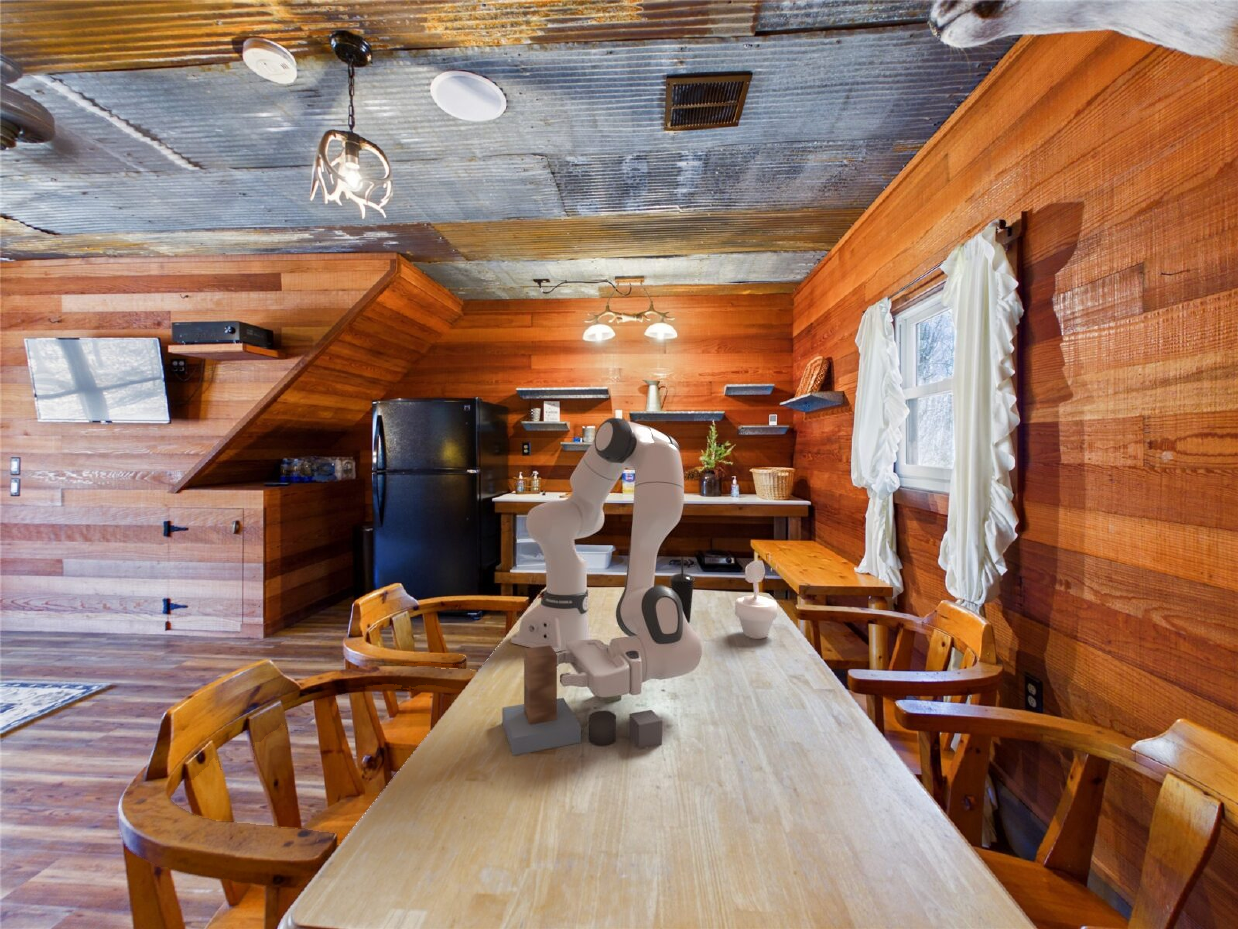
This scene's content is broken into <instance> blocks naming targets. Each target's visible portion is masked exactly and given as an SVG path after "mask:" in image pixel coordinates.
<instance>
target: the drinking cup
mask: <svg viewBox="0 0 1238 929" xmlns="http://www.w3.org/2000/svg"><path fill="white" fill-rule="evenodd" d="M680 558H681V561H680V563H681V564H680V570H681V571H680V572H678V573H675V574H673V575H671V576H670V577H669V579H670V584H671V589H672V590H673V591H674V592H675V593H676V594H677V595H678V596H679V598H680V600H681V603H682V608H683V613H684V615H685V618H686V620H687V622H688V624H689V623H690V622H691V615H692V614H691V613H692V605H693V592H694V582H695V580H696V579H695V577H694V576H693V575H691V574H688V573H684V556H681V557H680Z"/></svg>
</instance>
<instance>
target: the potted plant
mask: <svg viewBox="0 0 1238 929" xmlns="http://www.w3.org/2000/svg"><path fill="white" fill-rule="evenodd" d="M768 558H769V560H768V561H769V562H771V559H772V557H771V554H769V556H768ZM775 569H776V571H777V570H778V564H775ZM770 571H771V573H772V571H773V568H772V566H771V568H770ZM744 572H745V573H744V576H745V577H744V578H745V581H747V582H748V583H752V585H753V595H743V597H737V598H736V600H735V603H734V604H735V605H734V608H735V609H734V613H735V614H734V615H736V617H737V618H738V619H739V622H740V626H741V629H742V631H743V635H745V636H746V637H747V638H750V639H755V640H759V639H765V638H767V637H768V636H769V633H770V630H771V627H772V624H773V621H774V620H776V619H777V617H778V603H777V601H775V600H774V599H770V598H769V597H766V596H762V595H759V593H760V592H759V584H758V583H761V582H762V581H763V579H764V578H765V574H766V569H765V564H764V562H763V560H753V561H751V562H749V563H748V564H747V565H746V567H745V571H744Z"/></svg>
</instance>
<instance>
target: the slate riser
mask: <svg viewBox="0 0 1238 929" xmlns="http://www.w3.org/2000/svg"><path fill="white" fill-rule="evenodd" d="M501 708H502V711H501V713H502V716H501V717H502V720H501V722H502V723H501V724H502V726H503V729H504V732H505V734H506V735H505V736H506V738H507V741H508V743H509V747H510V750H511V753H512V755H513V756H518V755H521V754H522V755H525V754H528V753H533V752H539V751H543V750H549V749H554V748H558V747H559V748H560V747H563V746H569V745H575V744H579V743H582V725H581V723H580V722H579V721H578V719H577V717H576V716H575V714H574V713H573V711H572V709H571V708H570V706H569V705H568V703H567V702H566V699H565V698H564V697H560V698H557V720H554V721H548V722H542V723H537V724H531V725H529V722H528V720H527V718H526V716H525V713H524V703H522V704H515V705H510V706H504V707H501Z"/></svg>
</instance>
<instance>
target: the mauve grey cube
mask: <svg viewBox="0 0 1238 929" xmlns="http://www.w3.org/2000/svg"><path fill="white" fill-rule="evenodd" d="M628 715H629V717H628V718H629V719H628V720H629V723H628V724H629V725H628V726H629V728H628V729H629V730H628V731H629V732H628V733H629V734H628V738H629V739H630V740H631V742H632V743H633V744H634V745H635V747H636V748H637V749H638V750H644V749H648V748H653V747H657V746H662V744H663V738H662V737H663V720H662V719H661V718H660V717H659V716H658V715H657V713H655V712H654V710H653V709H649V710H648V709H647V710H642V711H637V712H631V713H629V714H628Z"/></svg>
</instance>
